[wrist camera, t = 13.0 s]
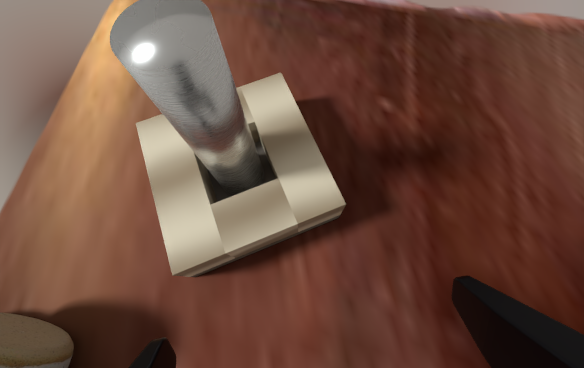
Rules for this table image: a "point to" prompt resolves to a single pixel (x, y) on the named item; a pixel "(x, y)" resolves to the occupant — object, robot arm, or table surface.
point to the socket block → (249, 204)
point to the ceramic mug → (33, 343)
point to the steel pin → (190, 84)
